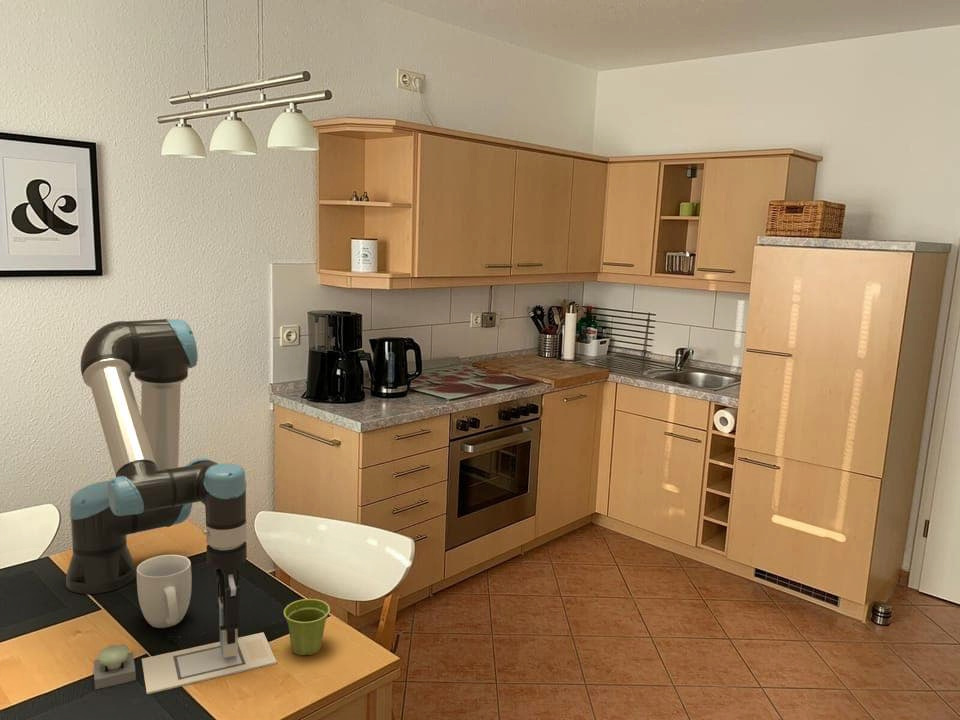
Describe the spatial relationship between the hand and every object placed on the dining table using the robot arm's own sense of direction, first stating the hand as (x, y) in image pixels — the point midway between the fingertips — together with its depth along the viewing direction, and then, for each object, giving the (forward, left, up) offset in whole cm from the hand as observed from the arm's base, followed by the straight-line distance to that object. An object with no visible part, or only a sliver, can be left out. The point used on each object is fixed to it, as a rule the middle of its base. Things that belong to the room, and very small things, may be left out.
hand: (228, 650), depth 151 cm
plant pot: (+3, +15, -2) cm, 16 cm away
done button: (-3, -21, 0) cm, 21 cm away
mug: (-19, -10, -2) cm, 21 cm away
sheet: (0, -4, -2) cm, 4 cm away
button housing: (-3, -21, -2) cm, 21 cm away
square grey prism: (0, 0, -1) cm, 1 cm away
